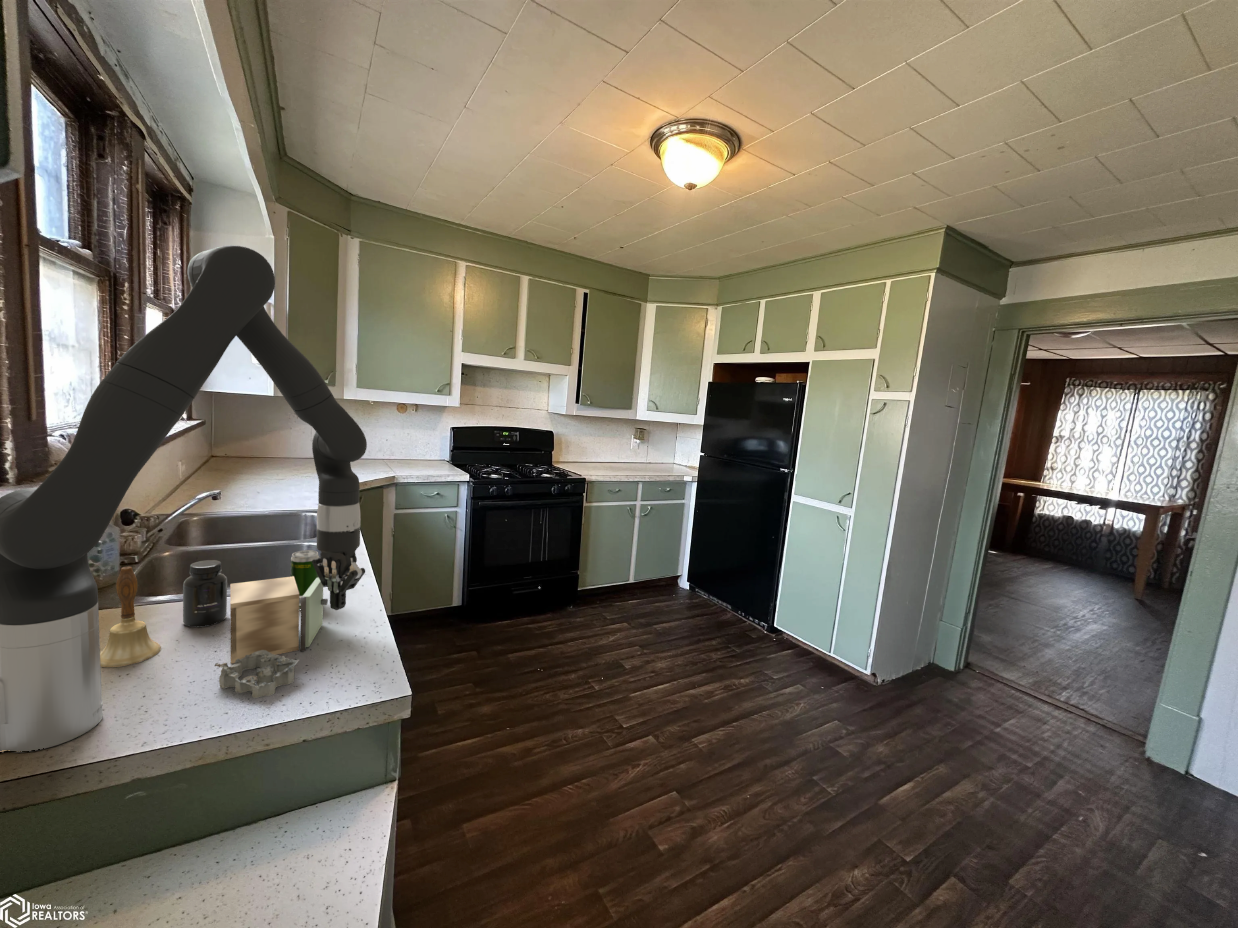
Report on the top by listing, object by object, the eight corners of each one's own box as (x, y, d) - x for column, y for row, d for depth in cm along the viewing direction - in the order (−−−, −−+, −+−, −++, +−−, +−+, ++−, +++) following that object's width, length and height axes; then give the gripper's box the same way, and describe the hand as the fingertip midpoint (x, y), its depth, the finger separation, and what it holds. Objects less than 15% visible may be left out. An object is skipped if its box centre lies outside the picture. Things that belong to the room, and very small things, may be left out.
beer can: (320, 607, 110) (321, 555, 109) (291, 612, 107) (292, 558, 105) (316, 598, 114) (317, 548, 113) (288, 603, 111) (289, 551, 109)
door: (301, 647, 93) (302, 596, 92) (315, 623, 102) (316, 577, 101) (314, 646, 93) (315, 596, 92) (327, 623, 103) (328, 577, 101)
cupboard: (230, 666, 85) (230, 605, 84) (230, 639, 94) (230, 583, 93) (305, 651, 92) (306, 595, 91) (299, 627, 101) (299, 575, 99)
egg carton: (210, 687, 80) (210, 663, 79) (257, 664, 87) (256, 643, 87) (259, 703, 77) (259, 679, 76) (303, 679, 84) (303, 656, 83)
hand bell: (173, 648, 89) (171, 563, 87) (119, 671, 81) (116, 578, 79) (136, 640, 91) (134, 556, 89) (80, 662, 83) (76, 571, 81)
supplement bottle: (203, 630, 96) (202, 571, 95) (173, 624, 97) (172, 566, 96) (235, 616, 103) (235, 560, 101) (207, 611, 104) (207, 556, 102)
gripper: (298, 522, 97) (297, 606, 99) (344, 534, 91) (343, 623, 94) (333, 515, 103) (332, 594, 106) (378, 527, 98) (377, 609, 100)
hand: (337, 608), depth 100 cm, fingers closed
